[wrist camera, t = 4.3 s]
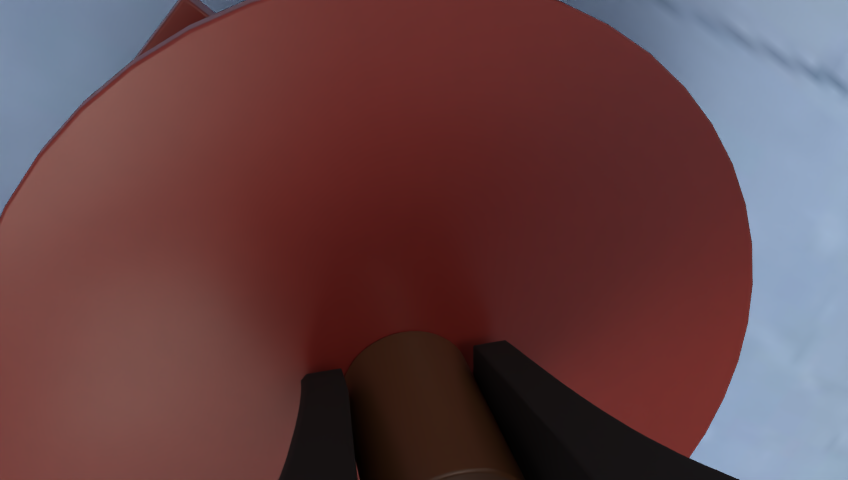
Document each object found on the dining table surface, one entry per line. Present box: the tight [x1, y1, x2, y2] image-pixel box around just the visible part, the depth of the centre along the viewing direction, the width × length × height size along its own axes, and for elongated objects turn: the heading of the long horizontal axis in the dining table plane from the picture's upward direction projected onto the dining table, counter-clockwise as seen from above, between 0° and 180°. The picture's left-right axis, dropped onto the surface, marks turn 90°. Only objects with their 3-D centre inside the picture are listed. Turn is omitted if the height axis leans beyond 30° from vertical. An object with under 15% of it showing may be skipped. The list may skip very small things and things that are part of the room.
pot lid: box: [0, 0, 753, 480], centre depth 12 cm, size 14×14×5 cm
